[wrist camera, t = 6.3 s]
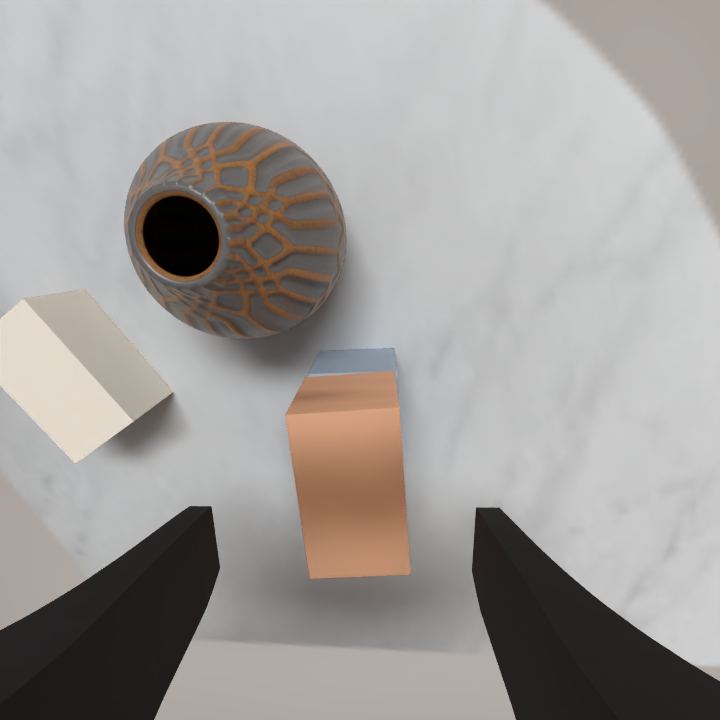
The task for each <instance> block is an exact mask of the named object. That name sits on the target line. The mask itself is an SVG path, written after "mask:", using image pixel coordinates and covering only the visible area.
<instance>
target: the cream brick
mask: <svg viewBox="0 0 720 720" xmlns="http://www.w3.org/2000/svg"><path fill="white" fill-rule="evenodd" d="M0 386H1V387H2V388H3V389H4V390H5V391H6V392H7V393H8V394H9V395H10V396H11V397H12V398H13V399H14V400H15V401H16V402H17V403H18V404H19V405H20V406H21V408H22V409H23V410H24V411H25V412H26V413H27V414H28V415H29V416H30V417H31V418H32V419H33V420H34V421H35V422H36V423H37V424H38V425H39V426H40V427H41V428H42V429H43V430H44V431H45V432H46V433H47V434H48V436H49V437H50V438H51V439H52V440H53V441H54V442H55V443H56V444H57V445H58V446H59V447H60V448H61V449H62V450H63V451H64V452H65V453H66V454H67V455H68V456H69V457H70V458H71V459H72V460H73V461H74V462H75V463H77V462H78V461H80V460H81V459H82V458H84V457H85V456H86V455H88V454H89V453H91V452H92V451H93V450H95V449H96V448H98V447H99V446H100V445H102V444H103V443H104V442H106V441H107V440H109V439H110V438H111V437H113V436H114V435H116V434H117V433H118V432H120V431H121V430H122V429H124V428H125V427H127V426H128V425H129V424H131V423H132V422H134V421H135V420H136V419H138V418H139V417H140V416H142V415H143V414H144V413H146V412H147V411H148V410H150V409H151V408H152V407H154V406H155V405H156V404H158V403H159V402H160V401H162V400H163V399H165V398H166V397H167V396H169V395H170V394H171V393H173V392H174V391H173V390H172V389H171V388H170V387H169V386H168V384H167V383H166V382H165V381H164V380H163V379H162V377H161V376H160V375H159V374H158V373H157V372H156V370H155V369H154V368H153V367H152V366H151V365H150V363H149V362H148V361H147V360H146V359H145V358H144V356H143V355H142V354H141V353H140V352H139V351H138V349H137V348H136V347H135V346H134V345H133V344H132V342H131V341H130V340H129V339H128V338H127V337H126V335H125V334H124V333H123V332H122V331H121V330H120V328H119V327H118V326H117V325H116V324H115V323H114V321H113V320H112V319H111V318H110V317H109V316H108V314H107V313H106V312H105V311H104V310H103V309H102V307H101V306H100V305H99V304H98V303H97V302H96V300H95V299H94V298H93V297H92V296H91V295H90V293H89V292H88V291H87V290H86V289H81V290H75V291H69V292H63V293H57V294H51V295H44V296H38V297H32V298H26V299H23V300H21V301H20V302H19V303H18V304H17V305H16V306H14V307H13V308H12V309H11V310H10V311H9V312H8V313H6V314H5V315H4V316H3V317H2V318H1V319H0Z"/></svg>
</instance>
